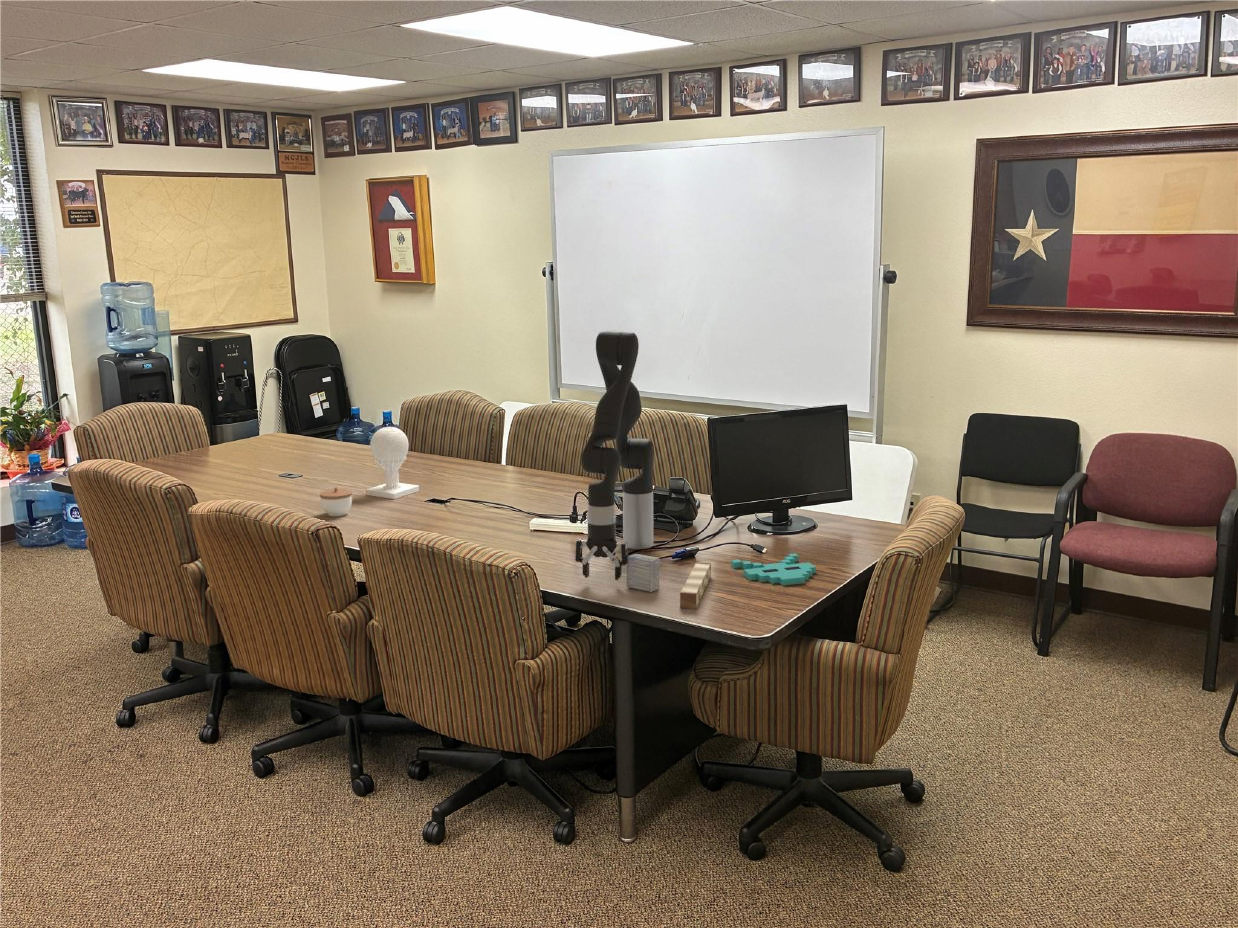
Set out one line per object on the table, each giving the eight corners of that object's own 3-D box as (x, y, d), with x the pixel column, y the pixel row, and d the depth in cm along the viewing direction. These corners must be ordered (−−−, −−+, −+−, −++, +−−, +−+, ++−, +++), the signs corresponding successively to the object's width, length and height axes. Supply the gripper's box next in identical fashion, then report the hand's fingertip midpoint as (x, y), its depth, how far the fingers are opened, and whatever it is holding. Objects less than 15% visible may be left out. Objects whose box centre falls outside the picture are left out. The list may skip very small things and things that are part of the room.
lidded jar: (315, 517, 356) (313, 490, 354) (331, 509, 366) (329, 483, 364) (344, 519, 353) (342, 492, 351) (359, 511, 364) (357, 484, 361)
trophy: (365, 494, 386) (361, 428, 380) (390, 486, 397) (387, 422, 392) (394, 499, 379) (390, 432, 373) (419, 491, 391) (416, 425, 385)
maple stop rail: (696, 576, 291) (696, 562, 290) (710, 576, 290) (710, 562, 289) (680, 607, 267) (680, 592, 266) (696, 609, 266) (696, 593, 265)
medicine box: (659, 589, 281) (660, 557, 280) (650, 592, 277) (651, 561, 276) (634, 583, 285) (635, 553, 284) (625, 587, 282) (626, 556, 280)
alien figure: (731, 567, 300) (759, 589, 281) (731, 560, 299) (759, 581, 281) (794, 560, 305) (826, 582, 286) (795, 553, 305) (827, 574, 286)
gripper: (630, 518, 282) (630, 575, 285) (580, 515, 285) (580, 571, 289) (624, 525, 275) (624, 584, 278) (572, 522, 278) (572, 580, 282)
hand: (602, 577), depth 284 cm, fingers open, 8 cm apart
